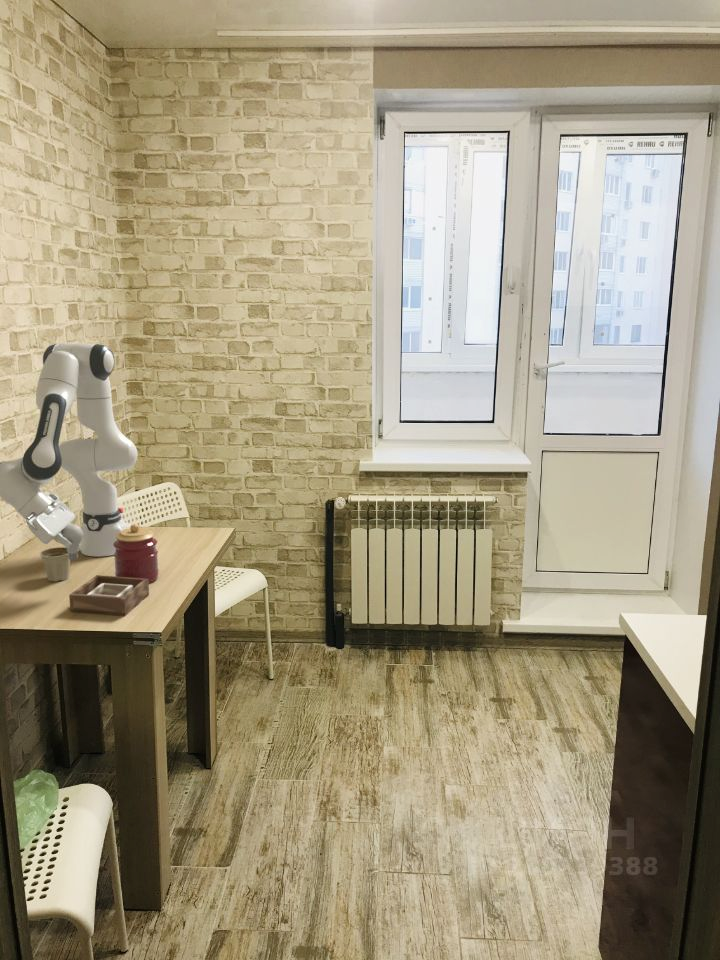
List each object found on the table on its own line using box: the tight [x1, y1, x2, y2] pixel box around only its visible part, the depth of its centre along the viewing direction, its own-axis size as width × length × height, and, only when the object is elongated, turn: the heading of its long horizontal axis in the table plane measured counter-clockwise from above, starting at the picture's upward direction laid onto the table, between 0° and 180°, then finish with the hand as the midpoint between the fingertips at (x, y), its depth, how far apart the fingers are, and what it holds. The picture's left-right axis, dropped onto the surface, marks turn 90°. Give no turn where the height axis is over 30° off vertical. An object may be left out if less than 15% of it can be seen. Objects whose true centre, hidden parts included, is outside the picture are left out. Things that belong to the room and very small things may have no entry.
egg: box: [60, 523, 83, 562], centre depth 227 cm, size 6×6×11 cm
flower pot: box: [39, 546, 71, 582], centre depth 241 cm, size 9×9×9 cm
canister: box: [113, 523, 160, 584], centre depth 240 cm, size 13×13×18 cm
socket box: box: [68, 575, 150, 617], centre depth 222 cm, size 16×16×5 cm
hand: (74, 541), depth 227 cm, fingers closed on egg, 6 cm apart
